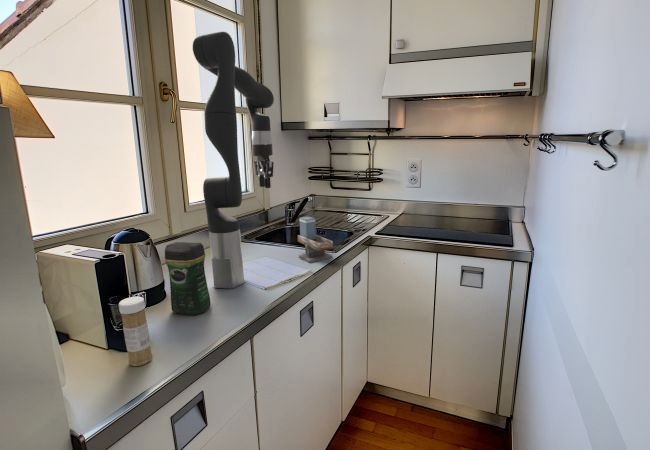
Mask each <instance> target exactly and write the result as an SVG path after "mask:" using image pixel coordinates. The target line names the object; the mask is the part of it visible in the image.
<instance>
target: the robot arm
mask: <svg viewBox="0 0 650 450" xmlns="http://www.w3.org/2000/svg"><path fill="white" fill-rule="evenodd" d="M192 53H193V56H194V59H195V60H196V62H197V63H198V64H199V65H200V66H201V67H202V69H203V68H204V70H206V71H208V72H210V73H212V74H213V75H214V76H216V77H217V78H216V81H215V85H214V87H213V89H212V91H211V93H210V95H209V97H208V99H207V101H206V104H205V105H204V115H203V117H204V130H205V134H206V136H207V138H208V139H209V141H210V142H211V144H212V146H213V147H214V149H215V150H216V151H217V152H218V154H219V155H220V156H221V158H222V160H223V161H224V164H225V165H226V167H227V172H228V176H218V177H217V176H215V177H207V178H205V179H204V181H203V185H202V187H203V188H202V190H203V198H204V205H205V210H206V218H207V226H208V236H209V246H210V254H211V255H210V257H211V258H210V259H211V261H210V262H211V268H212V270H211V271H212V278H213V288H214V289H234V288H236V287H238V286H241V285H242V284H243V283H245V273H244V272H245V271H244V265H243V263H244V261H243V251H242V250H243V249H242V239H241V238H242V236H241V225H240V224H241V223H240V221H239V219H238V218H236V217H232V216H229V215H226V214H224V213H223V212H221V210H220V209H229V208H231V209H232V208H239V207H240V206H241V205H242V202H243V192H242V191H243V190H242V189H243V188H242V181H241V180H242V179H241V171H240V164H239V163H240V162H239V151H238V150H239V149H238V148H239V146H238V145H239V144H238V120H237V119H238V118H237V108H236V91H237V92H238V93H239V94H240V95H242V97H244V102H245V105H246V108H247V110H248V115H249V117H250V122H251V131H252V132H251V134H252V135H251V143H252V155H253V156H254V157H256V159H257V160H254V161H253V163H254V164H253V165H254V169H255V174H256V176H257V178H258V182H259V183H258V184H259V185H258V186H259V187H260V188H265V189H270V188H271V187H272V185H271V184H272V183H271V179H272V178H273V176H274V161H271V159H270V157H271V156H273V153H274V152H273V141H272V140H273V137H272V131H271V130H272V129H271V119H270V116H269V115H266V114H262V113H260V112H259V109H269V108H271V107H272V106H273V104H274V99H275V98H274V94H273V92H272V91H271V89H270V88H269V87H267V86H266V85H265V84H262V83H261V82H259V81H257V80H256V79H255V78H254V77H253V76H252V75H251V74H250V73H249V72H248V71H247V70H245V69H243V68H241V67H239V66H236V49H235V43H234V40H233V39H232V36H231V35H230V34H229V33H228V32H227V31H217V32H212V33H211V32H210V33H207V34H202V35H199V36H197V37H195V38H194V40H193V41H192ZM235 90H236V91H235Z"/></svg>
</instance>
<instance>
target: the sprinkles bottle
mask: <svg viewBox="0 0 650 450" xmlns="http://www.w3.org/2000/svg"><path fill="white" fill-rule="evenodd" d="M118 309H119V313H120V315H121V321H122V327H123V328H122V329H123V334H124V335H123V336H124V341H125V346H126V350H127V358H128V365H130V366H132V367H139V366H144V365H146V364H148V363H149V362H151V360H153V354H152V349H151V348H152V347H151V339H150V332H149V325H148V321H147V315H146V303H145V298H144V297H142V296H130V297H127V298H124V299H122V300H120V301H119V303H118Z"/></svg>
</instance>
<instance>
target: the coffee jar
mask: <svg viewBox="0 0 650 450" xmlns="http://www.w3.org/2000/svg"><path fill="white" fill-rule="evenodd" d="M164 248H165V249H164V261H165V263H166V266H167V269H168V276H169V277H168V278H169V285H170V287H169V288H170V305H171V311H172V312H173V313H175V314H179V315H184V316H186V315H187V316H188V315H189V316H194V315H195V316H196V315H198V314H201V313H204V312H206V311H207V310H208V309H209V308H210V307H211V304H212V303H211V298H210V291H209V288H208V283H207V277H206V271H205V259H206V252H205V249H204V244H202V242H187V241H175V242H174V241H173V242H172V243H168V244H167V245H165V247H164Z"/></svg>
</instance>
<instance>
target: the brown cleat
mask: <svg viewBox="0 0 650 450" xmlns="http://www.w3.org/2000/svg"><path fill="white" fill-rule="evenodd" d="M297 242H298V243H300V244H303V245H304V249H305V251H304V252H305V253H303V254H299V255H298V256H297V257H298V258H299V259H301V260H302V261H305V262H307V263H311V264H312V263H314V262H318V261H323V260H328V259H332V258H333V255H332V254H329V253H327V252H325V251H326V250H331V249H333V248H334V241H333V240H330V239H328V238H325V237H322V236H320V235H319V234H318V235H317V234H316V239H314V240H310V239H308V238H305V237H303V236H300V234H297Z"/></svg>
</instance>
